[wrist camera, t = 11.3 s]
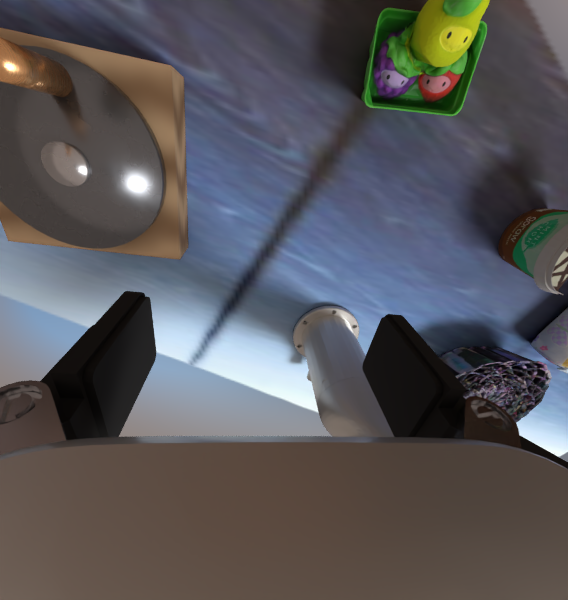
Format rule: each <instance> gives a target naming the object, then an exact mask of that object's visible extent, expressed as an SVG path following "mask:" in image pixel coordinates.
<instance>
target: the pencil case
mask: <svg viewBox="0 0 568 600" xmlns="http://www.w3.org/2000/svg"><path fill="white" fill-rule="evenodd" d="M531 346H532V347H533V348H534V349H535V350H536V351H537V352H538V353H540V354H541V355H542V356H543V357H545V358H546V359H547V360H549V361H550V362H552V363H553V364H555V365H557V366H559V367H561V368H557V369H559V370H561V371H563V372H565V373H568V308H567V309H566V310H565V311H564V312H562V313H561V314H560V315H559V316H558V317H557V318H556V319H555V320H554V321H552V322H551V323H550V324H549V325H548V326H547V327H546V328H545V329H544V330H543V331H542V332H541V333H540V334H538V335H537V337H536V338H535V339H534V340H533V342H532V343H531Z"/></svg>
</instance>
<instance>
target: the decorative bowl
mask: <svg viewBox="0 0 568 600" xmlns="http://www.w3.org/2000/svg"><path fill="white" fill-rule="evenodd" d="M439 358H440V359H441V361H442V362H443V363H444V364H445V365H446V366H447V367H448V369H449V370H450V371H451V372H452V373H453V374H454V376H455V377H456V378H457V379H458V380H459V381H460V382H461V384H462V385H463V386H464V387H465V388H466V389H467V390H466V391H465V392H464V394H463V397H464V398H465V399H467V398H468V397H470V396H478V397H482V398H485V399H487V400H490V401H492V402H493V403H495V404H497V405H498V406H500V407H501V408H502V409H504V410H505V411H506V412H507V413H508V414H509V415H510V416H511V417H512V418H513V420H514V421H515V422H518V421H519V420H520V419H521V418H523V417H525V416H526V415H527V414H528V413H529V412H530V411H531V410H532V409H533V408H535V407H536V406H537V405H538V404H539V403H540V402H541V401H542V399H543V397H544V395H545V392H546V390H547V389H548V387H549V385H548V384H549V382H550V380H551V378H552V377H551V374H550V371H549V370H548V369H547V365H546V364H544V363H542V362H539V361H532V360H530V359H527V358H524V357H522V356H519V355H517V354H514V353H512V352H509V351H507V350H504V349H501V348H499V347H495V348H491V347H485V346H482V347H471V348H469V349H467V348H464V347H461V348H457V349H454V350H453V351H452V352H451V351H450V352H447V353H445V354H443V355H441V357H439Z"/></svg>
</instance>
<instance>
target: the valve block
mask: <svg viewBox="0 0 568 600" xmlns="http://www.w3.org/2000/svg"><path fill="white" fill-rule="evenodd" d="M0 37H1V38H4V39H6V40H8V41H10V42H13V43H15V44H17V45H26V46H37V47H42V48H46V49H51V50H54V51H57V52H59V53H62V54H65V55H67V56H69V57H71V58H73V59H76V60H78V61H80V62H82V63H83V64H85V65H87V66H89V67H91V68H93V69H95V70H96V71H98V72H99V73H101V74H102V75H104V76H105V77H107V78H108V79H109V80H110V81H111V82H113V83H114V84H115V85H116V86H118V87H119V88H120V89H121V90H122V91H123V92H124V93H125V94H126V95H127V96H128V97H129V98H130V99H131V101H132V102H133V103H134V104H135V105H136V107H137V108H138V109H139V110H140V112H141V113H142V115H143V116H144V118H145V119H146V121H147V122H148V124H149V126H150V127H151V129H152V131H153V133H154V135H155V137H156V139H157V142H158V144H159V147H160V149H161V153H162V156H163V159H164V164H165V170H166V183H167V184H166V195H165V200H164V204H163V207H162V209H161V212H160V214H159V216H158V217H157V219H156V221H155V222H154V223H153V224H152V225H151V227H150V228H149V229H147V230H146V231H145V232H144V233H143V234H141V235H140V236H139V237H137V238H136V239H134V240H132V241H131V242H128V243H126V244H124V245H120V246H117V247H112V248H104V249H93V248H84V247H79V246H74V245H70V244H67V243H64V242H61V241H58V240H56V239H54V238H51V237H49V236H47V235H45V234H43V233H41V232H40V231H38V230H36V229H34V228H33V227H31V226H30V225H28V224H27V223H25V222H24V221H23V220H21V219H20V218H19V217H18V216H16V215H15V214H14V213H13V212H12V211H10V210H9V209H8V208H7V207H6V206H5V205H4V204H3V203H2V202H1V201H0V220H1V223H2V225H3V228H4V231H5V233H6V236H7V239H8V241H14V242H23V243H32V244H42V245H51V246H60V247H69V248H78V249H88V250H97V251H106V252H115V253H124V254H133V255H143V256H152V257H161V258H170V259H179V260H180V259H181V257H182V256H183V254H184V253H185V251H186V250H187V248H188V217H187V179H186V141H185V103H184V77H183V76H182V75H180V74H179V73H178V72H177V71H176V70H175V69H174V68H173V67H172V66H171V65H167V64H162V63H157V62H153V61H148V60H144V59H139V58H135V57H130V56H126V55H121V54H117V53H112V52H108V51H103V50H99V49H94V48H90V47H85V46H81V45H76V44H72V43H67V42H63V41H58V40H54V39H49V38H45V37H40V36H35V35H31V34H26V33H22V32H17V31H13V30H8V29H4V28H0Z"/></svg>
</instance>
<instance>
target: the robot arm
mask: <svg viewBox="0 0 568 600" xmlns="http://www.w3.org/2000/svg"><path fill="white" fill-rule="evenodd" d="M358 335H359V325H358V322H357V320H356V319H355V317H354V316H353V314H352V313H351V312H349V311H348V310H346V309H344V308H342V307H339V306H322V307H318V308H315V309H313V310H311V311H309V312H307V313H306V314H305V315H304V316H302V317H301V318H300V320H299V321H298V322H297V324H296V326H295V328H294V331H293V340H294V345H295V347H296V349H297V351H298V352H299V353H300V354H301V355H303V356H304V357H306V360H307V365H308V369H309V371H308V375H307V379H308V380H309V381H311V382H312V386H313V390H314V394H315V399H316V403H317V407H318V411H319V415H320V418H321V421H322V423H323V425H324V427H325V428H326V430H327V431H328V432H329V433H330V434H331V435H332V436H333V437H330V436H329V437H328V436H327V437H326V436H325V437H324V436H323V437H322V436H145V437H119V435H120V433H121V431H122V428H123V426H124V424H125V422H126V420H127V418H128V416H129V414H130V412H131V410H132V407H133V405H134V403H135V401H136V399H137V397H138V395H139V393H140V391H141V389H142V387H143V384H144V382H145V380H146V378H147V376H148V374H149V372H150V370H151V368H152V366H153V364H154V361H155V358H156V346H155V337H154V328H153V320H152V311H151V302H150V298H149V297H145V294H144V293H142V292H130V291H126V292H124V293H123V294H122V295H121V296H120V298H119V299H118V300H117V301H116V302H115V303H114V304H113V305H112V306H111V307H110V308H109V310H108V311H107V312H106V313H105V314H104V315H103V316H102V317H101V318H100V319H99V320H98V322H97V323H96V324H95V325H93V326H92V327H90V328H89V329H88V330H87V331H86V332H85V334H84V335H83V336H82V337H81V338H80V339H79V340H78V341H77V342H76V343H75V344H74V345H73V347H72V348H71V349H70V350H69V351H68V352H67V353H66V354H65V355H64V356H63V357H62V358H61V359H60V361H59V362H58V363H57V364H56V365H55V366H54V367H53V368H52V369H51V370H50V371H49V372H48V373H47V375H46V376H45V377H44V378H43V379H42V380H41V381H21V382H16V383H12V384H8V385H6V386H3V387H1V388H0V600H568V462H566V461H564V460H563V459H561V458H559V457H557V456H555V455H554V454H552V453H550V452H548V451H547V450H545V449H543V448H541V447H539V446H538V445H536V444H534V443H532V442H531V441H529V440H527V439H525V438H523V437H522V436H520V435H519V431H518V427H517V424H516V422H515V421H514V420H513V418H512V417H511V416H510V415H509V414H508V413H507V412H506V411H505V410H504V409H502V408H501V407H500V406H498V405H497V404H495V403H493V402H492V401H490V400H487V399H485V398H482V397H478V396H470V397H468V398H467V399H465V398H464V397H463V394H464V392H465V391H466V390H467V389H466V388H465V387H464V386H463V385H462V384H461V382H460V381H459V380H458V379H457V378H456V377H455V376H454V374H453V373H452V372H451V371H450V370H449V369H448V367H447V366H446V365H445V364H444V363H443V362H442V361H441V359H440V358H439V357H438V356H437V355H436V354H435V353H434V351H433V350H432V349H431V348H430V347H429V346H428V345H427V343H426V342H425V341H424V340H423V339H422V338H421V336H420V335H419V334H418V333H417V332H416V331H415V330H414V328H413V327H412V326H411V325H410V324H409V323H408V322H407V320H406V319H405V318H404V317H403V316H402V315H392V314H388V315H386V316H385V317H383V318H382V319H381V321H380V323H379V326H378V328H377V330H376V333H375V335H374V338H373V340H372V342H371V345H370V347H369V350H368V352H367V354H366V356H365V354H364V352H363V350H362V348H361V346H360V344H359V342H358V340H357V339H358Z"/></svg>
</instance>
